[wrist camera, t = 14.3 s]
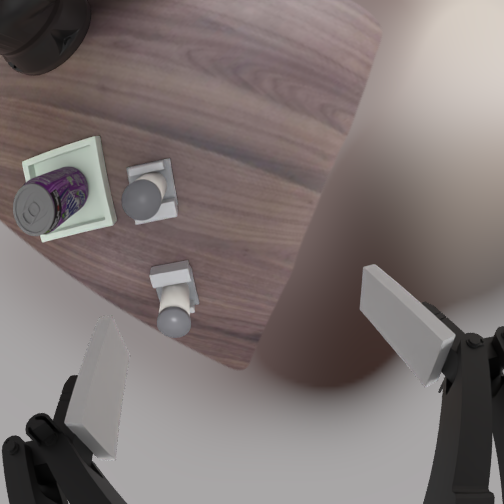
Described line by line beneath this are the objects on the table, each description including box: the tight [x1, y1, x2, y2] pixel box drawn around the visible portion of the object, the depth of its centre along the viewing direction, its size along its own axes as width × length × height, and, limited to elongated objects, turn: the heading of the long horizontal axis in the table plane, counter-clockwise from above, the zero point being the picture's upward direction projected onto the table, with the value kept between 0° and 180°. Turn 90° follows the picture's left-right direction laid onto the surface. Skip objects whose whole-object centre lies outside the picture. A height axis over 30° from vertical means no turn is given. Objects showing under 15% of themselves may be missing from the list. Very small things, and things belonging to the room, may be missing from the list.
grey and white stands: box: [122, 158, 199, 338], centre depth 39 cm, size 24×6×10 cm, turn 7°
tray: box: [22, 136, 117, 242], centre depth 36 cm, size 13×13×2 cm
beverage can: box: [13, 166, 88, 236], centre depth 31 cm, size 7×7×12 cm
